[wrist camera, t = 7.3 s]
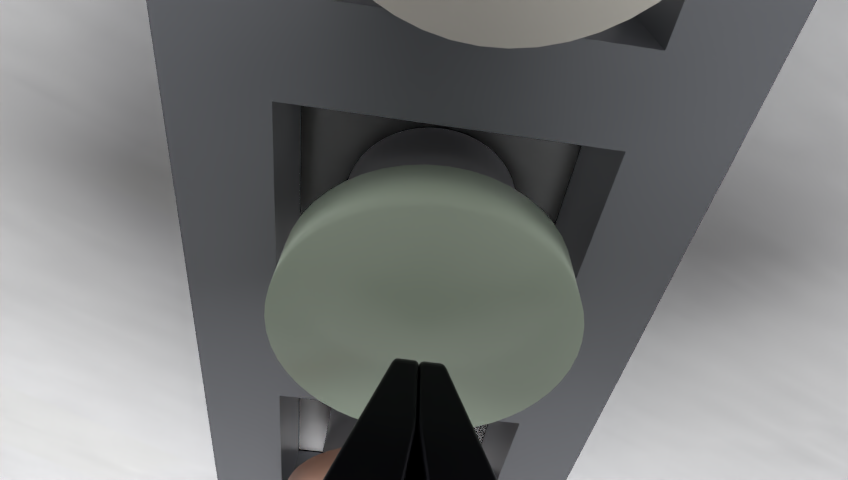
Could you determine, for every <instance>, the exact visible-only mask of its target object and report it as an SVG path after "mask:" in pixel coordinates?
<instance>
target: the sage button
mask: <svg viewBox="0 0 848 480" xmlns="http://www.w3.org/2000/svg"><path fill="white" fill-rule="evenodd" d="M264 319H265V326H266V333H267V336H268V339H269V342H270V345H271V347H272V349H273V351H274V353H275V355H276V357H277V359H278V361H279V362H280V363H281V365H282V366H283V368H284V369H285V371H286V372H287V373H288V374H289V375H290V376H291V377H292V378H293V379H294V381H295V382H296V383H297V384H298V385H300V386H301V387H302V388H303V389H304V390H306V391H307V392H308V393H309V394H310V395H312V396H313V397H315V398H316V399H318V400H319V401H321V402H322V403H324V404H326V405H328V406H329V407H331V408H333V409H335V410H337V411H339V412H341V413H343V414H346V415H348V416H351V417H353V418H356V419H359V417H360V415H361V414H362V412H363V410H364V408H365V407H366V405H367V403H368V402H369V400H370V398H371V397H372V395H373V393H374V391H375V390H376V388H377V386H378V385H379V383H380V381H381V379H382V378H383V376H384V374H385V373H386V371H387V369H388V368H389V366H390V364H391V362H392V361H393V360H394V359H396V358H401V359H409V360H415V361H417V362H418V364H420V363H421V362H423V361H426V362H434V363H441V364H443V365H445V367H446V368H447V370H448V373H449V375H450V377H451V379H452V381H453V384H454V386H455V388H456V390H457V392H458V395H459V397H460V399H461V401H462V403H463V406H464V408H465V410H466V412H467V414H468V417H469V419H470V421H471V423H472V425H473V427H477V426H481V425H485V424H489V423H493V422H496V421H499V420H501V419H504V418H507V417H509V416H512V415H514V414H516V413H518V412H520V411H522V410H524V409H526V408H528V407H529V406H531V405H533V404H534V403H536V402H538V401H539V400H540V399H541V398H543V397H544V396H545V395H547V394H548V393H549V392H550V391H551V390H552V389H554V388H555V387H556V386H557V385H558V384H559V383H560V382H561V380H562V379H563V378H564V377H565V375H566V374H567V373H568V371H569V370H570V369H571V367H572V365H573V363H574V361H575V359H576V357H577V355H578V353H579V350H580V347H581V344H582V339H583V333H584V311H583V307H582V302H581V298H580V294H579V290H578V286H577V282H576V279H575V275H574V271H573V267H572V263H571V259H570V256H569V252H568V249H567V247H566V244H565V242H564V240H563V237H562V236H561V234H560V232H559V231H558V229H557V228H556V226H555V225H554V223H553V222H552V221H551V219H550V218H549V217H548V216H547V215H546V214H545V213H544V212H543V210H542V209H541V208H539V207H538V206H537V205H536V204H535V203H534V202H532V201H531V200H530V199H529V198H528V197H526V196H525V195H523V194H522V193H520V192H518V191H517V190H515V187H514V184H513V180H512V178H511V176H510V173H509V171H508V169H507V168H506V166H505V165H504V163H503V162H502V160H501V159H500V158H499V157H498V156H497V155H496V154H495V153H494V152H493V151H492V150H491V149H490V148H488V147H487V146H486V145H484V144H483V143H481V142H480V141H478V140H476V139H474V138H472V137H470V136H468V135H466V134H463V133H460V132H457V131H453V130H448V129H443V128H416V129H410V130H405V131H402V132H398V133H395V134H393V135H391V136H388V137H386V138H384V139H382V140H381V141H379V142H377V143H376V144H374V145H373V146H372V147H371V148H369V149H368V150H367V151H366V152H365V153H364V154H363V155H362V156H361V157H360V159H359V160H358V161H357V163H356V164H355V166H354V167H353V169H352V172H351V174H350V176H349V179H348V180H347V181H345V182H343V183H341V184H339V185H337V186H336V187H334V188H332V189H331V190H329V191H327V192H326V193H325V194H323V195H322V196H321V197H319V198H318V199H317V200H316V201H314V202H313V203H312V204H311V205H310V206H309V207H308V208H307V209H306V211H305V212H304V213H303V214H302V215H301V216H300V217H299V219H298V220H297V222H296V223H295V225H294V226H293V228H292V229H291V232H290V234H289V236H288V238H287V241H286V243H285V245H284V248H283V251H282V253H281V256H280V259H279V261H278V264H277V266H276V269H275V272H274V274H273V277H272V280H271V282H270V285H269V288H268V292H267V296H266V300H265V312H264Z"/></svg>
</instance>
